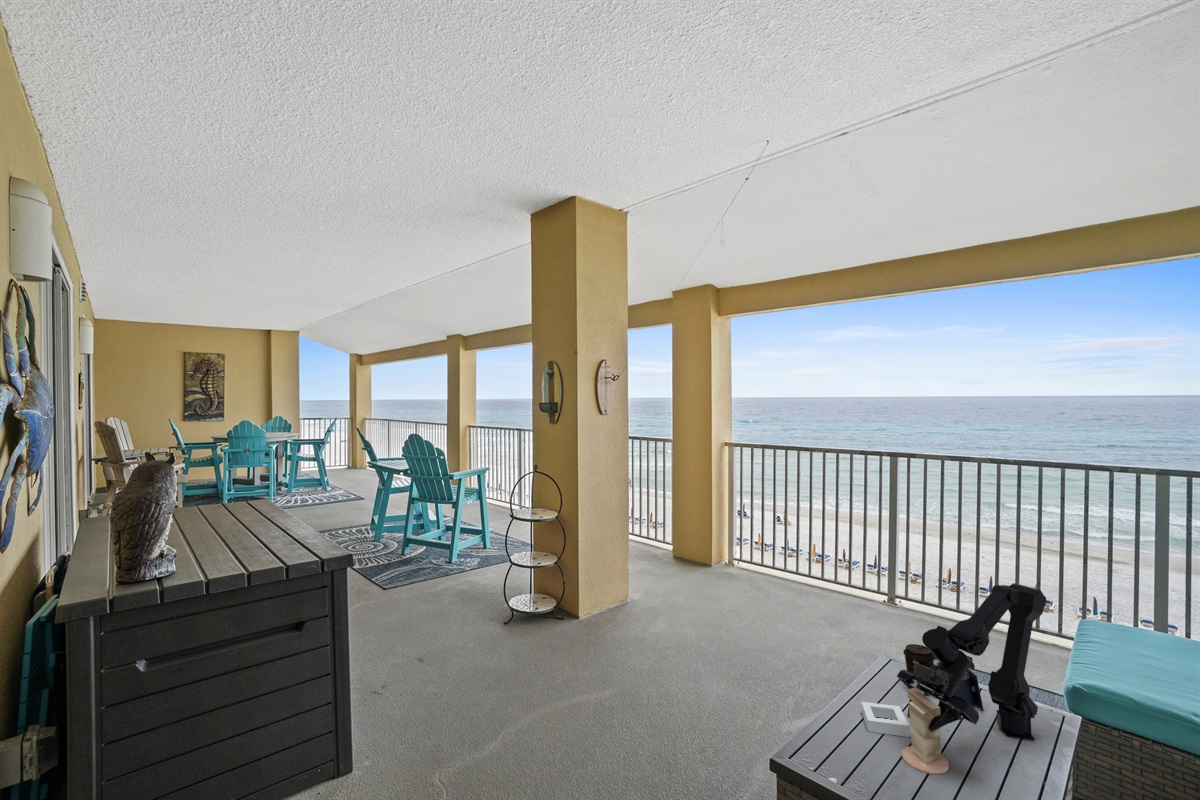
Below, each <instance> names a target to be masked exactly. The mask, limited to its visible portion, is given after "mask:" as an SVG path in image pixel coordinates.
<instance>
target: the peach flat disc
mask: <svg viewBox="0 0 1200 800" xmlns="http://www.w3.org/2000/svg"><path fill="white" fill-rule="evenodd" d="M901 758H902V760H903V761H904V762H905V763H906V764H907V765H909V766H910V767H912V768H913V769H915V770H917V771H919V772H922V773H925V774H930V775H943V774H946V773H947V772H949V770H950V763H949V761H948V760H947V759H946V758H945V757H944V756H943V755H942V754H941V758H942V759H939V760H936V761H933V762H929V763H925V762H924V761H923V760H922V759H921V758H920V757H918V756H917V755H916V754H915V753H914V752H913V751H912V745H911V746H906V747H905V748H903V749H902V751H901Z"/></svg>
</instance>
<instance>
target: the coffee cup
mask: <svg viewBox="0 0 1200 800" xmlns="http://www.w3.org/2000/svg"><path fill="white" fill-rule="evenodd" d="M902 654H903V655H904V661H905V668H906V669H905V670H906V671H908V672H910V673H912V674H913V672H914V668H915V665H916V663H918V664H920V665H923V666H925V667H928V668H930V667H931V665H933V664H934V660H936V657H935V656H934V655H933V654H932V653H931V651H930V650H929V649H928V648H927V647H926V646H925V645H924V644H923V645H922V644H916V643H914V644H913V643H910V644H907V645H906V646H905V648H904V649H903V653H902ZM917 678H918V679H919V680H920V681H921V682H922V683H923V684H925V685H926V683H925V682H923V681H922V680H921V678H919V677H917ZM930 692H931V691H930ZM923 695H924V696H929V695H928V694H926V693H924V694H923Z"/></svg>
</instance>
